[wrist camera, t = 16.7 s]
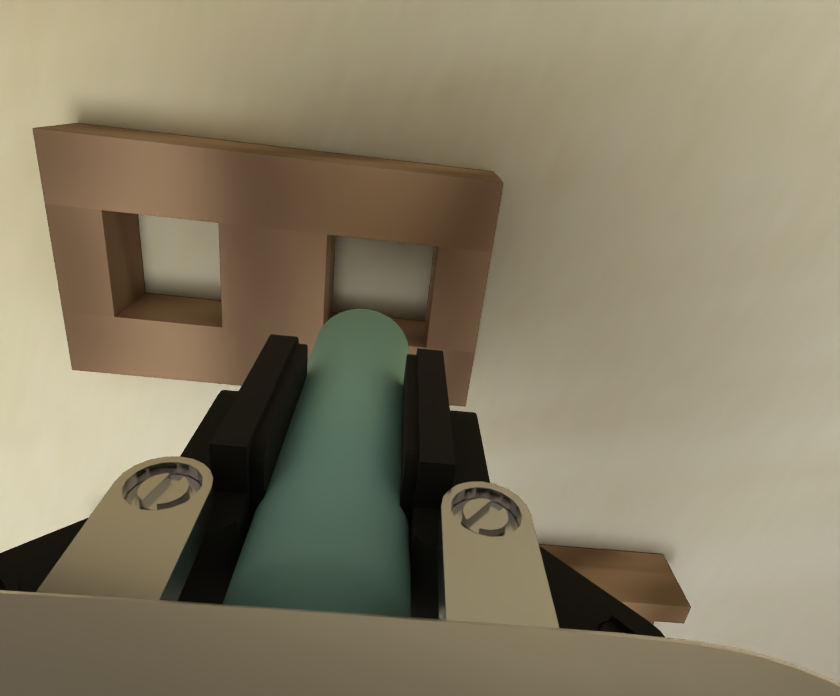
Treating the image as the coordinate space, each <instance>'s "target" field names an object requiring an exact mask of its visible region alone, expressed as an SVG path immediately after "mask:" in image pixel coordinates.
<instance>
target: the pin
mask: <svg viewBox="0 0 840 696" xmlns="http://www.w3.org/2000/svg"><path fill="white" fill-rule="evenodd" d="M407 354H409V346H408V342H407V339H406V336H405V334H404V332H403V331H402V329H401V328H400V327H399V326H398V325H397V323H396V322H394V321H393V320H392V319H391V318H389V317H388V316H386V315H384V314H382V313H380V312H377V311H374V310H369V309H352V310H347V311H344V312H341V313H339V314H337V315H335V316H333V317H332V318H331V319H329V320H328V321H327V322H326V323H325V324H324V325H323V326H322V328H321V329H320V331H319V333H318V335H317V338H316V341H315V343H314V346H313V349H312V352H311V355H310V358H309V360H308V363H307V376H306V379H305V382H304V385H303V388H302V391H301V394H300V396H299V399H298V402H297V405H296V408H295V411H294V414H293V416H292V419H291V422H290V425H289V428H288V431H287V433H286V436H285V439H284V442H283V445H282V448H281V451H280V453H279V456H278V459H277V462H276V465H275V468H274V471H273V473H272V476H271V479H270V482H269V485H268V488H267V491H266V493H265V496H264V498H263V500H262V501H261V502H260V504H259V505H258V507H257V509H256V511H255V513H254V516H253V519H252V522H251V525H250V528H249V530H248V533H247V536H246V539H245V542H244V545H243V547H242V550H241V553H240V556H239V559H238V562H237V564H236V567H235V570H234V573H233V576H232V579H231V581H230V584H229V587H228V590H227V593H226V596H225V598H224V601H223V604H228V605H242V606H257V607H272V608H287V609H302V610H316V611H331V612H345V613H360V614H374V615H388V616H402V617H411V569H410V528H409V523H408V520H407V518H406V515H405V513H404V512H403V510H402V508H401V507H400V480H401V445H402V409H403V382H404V373H405V365H406V357H407Z"/></svg>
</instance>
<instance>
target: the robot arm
mask: <svg viewBox="0 0 840 696" xmlns="http://www.w3.org/2000/svg"><path fill="white" fill-rule="evenodd" d="M307 362H308V346H307V344H299V339H298V337H296V336H285V335H275V334H271V335H270V336H269V338H268V340H267V341H266V343H265V345H264V347H263V349H262V350H261V352H260V354H259V356H258V358H257V359H256V361H255V363H254V365H253V367H252V368H251V370H250V372H249V374H248V376H247V377H246V379H245V381H244V383H243V385H242V386H241V388H240V390H239V391H229V390H222V391H221V392H220V393H219V394H218V396H217V398H216V399H215V401H214V402H213V404H212V406H211V407H210V409H209V410H208V412H207V414H206V415H205V417H204V419H203V420H202V422H201V423H200V425H199V427H198V428H197V430H196V432H195V433H194V435H193V436H192V438H191V440H190V441H189V443H188V445H187V446H186V448H185V449H184V451H183V453H182V454H181V456H180V457H161V458H156V459H151V460H148V461H145V462H143V463H140V464H137V465H135V466H133V467H132V468H130V469H128V470H127V471H125V472H124V473H123V474H122V475H121V476H120V477H119V478H118V479H117V480H116V481H115V482H114V483H113V485H112V486H111V487H110V489H109V490H108V492H107V493H106V494H105V496H104V497H103V499H102V500H101V501H100V503H99V504H98V506H97V507H96V508H95V510H94V511H93V513H92V514H91V515H90V517H89V518H87V519H84V520H82V521H79V522H77V523H74V524H72V525H69V526H67V527H64V528H62V529H59V530H57V531H54V532H52V533H49V534H47V535H44V536H42V537H39V538H37V539H34V540H32V541H29V542H27V543H24V544H22V545H19V546H17V547H15V548H12V549H10V550H7V551H5V552H2V553H0V696H840V684H839V683H837V682H835V681H833V680H831V679H829V678H826V677H823V676H821V675H818V674H816V673H813V672H811V671H808V670H806V669H803V668H800V667H798V666H795V665H793V664H790V663H788V662H785V661H782V660H778V659H775V658H771V657H767V656H764V655H760V654H757V653H753V652H750V651H746V650H742V649H738V648H733V647H727V646H722V645H716V644H711V643H706V642H700V641H692V640H683V639H673V638H665V637H664V635H663V634H662V633H661V631H659V630H658V629H657V628H656V627H655V626H654V625H652V624H651V623H650V622H649V621H648V620H646V619H645V618H644V617H642V616H641V615H639V614H638V613H636V612H635V611H633V610H632V609H630V608H629V607H628V606H626V605H625V604H623V603H622V602H620V601H619V600H617V599H616V598H615V597H613V596H612V595H610V594H609V593H607V592H606V591H604V590H603V589H602V588H600V587H599V586H597V585H596V584H594V583H593V582H591V581H590V580H589V579H587V578H586V577H584V576H583V575H581V574H580V573H578V572H577V571H576V570H574V569H573V568H571V567H570V566H568V565H567V564H565V563H564V562H562V561H561V560H560V559H558V558H557V557H555V556H554V555H552V554H551V553H549V552H548V551H547V550H545V549H544V548H542V547H541V546H539V544H538V540H537V536H536V532H535V528H534V524H533V520H532V516H531V514H530V511H529V509H528V507H527V505H526V504H525V503H524V502H523V501H522V500H521V499H520V497H519V496H517V495H516V494H514V493H513V492H511V491H510V490H508V489H506V488H504V487H501V486H499V485H496V484H492V483H490V481H489V476H488V470H487V465H486V460H485V455H484V450H483V444H482V439H481V434H480V429H479V424H478V418H477V415H476V413H473V412H462V411H451V410H450V408H449V399H448V390H447V382H446V373H445V364H444V355H443V351H441V350H430V349H420V348H417V353H416V355H413V354H407V357H406V365H405V373H404V382H403V409H402V445H401V480H400V507H401V508H402V510H403V512H404V513H405V515H406V518H407V520H408V523H409V528H410V569H411V617H402V616H388V615H374V614H360V613H345V612H331V611H316V610H302V609H287V608H272V607H257V606H242V605H228V604H223V601H224V598H225V596H226V593H227V590H228V587H229V584H230V581H231V579H232V576H233V573H234V570H235V567H236V564H237V562H238V559H239V556H240V553H241V550H242V547H243V545H244V542H245V539H246V536H247V533H248V530H249V528H250V525H251V522H252V519H253V516H254V513H255V511H256V509H257V507H258V505H259V504H260V502H261V501H262V500H263V498H264V496H265V493H266V491H267V488H268V485H269V482H270V479H271V476H272V473H273V471H274V468H275V465H276V462H277V459H278V456H279V453H280V451H281V448H282V445H283V442H284V439H285V436H286V433H287V431H288V428H289V425H290V422H291V419H292V416H293V414H294V411H295V408H296V405H297V402H298V399H299V396H300V394H301V391H302V388H303V385H304V382H305V379H306V376H307Z"/></svg>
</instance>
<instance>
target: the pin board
mask: <svg viewBox="0 0 840 696" xmlns="http://www.w3.org/2000/svg"><path fill="white" fill-rule="evenodd" d="M33 134H34V140H35V146H36V153H37V159H38V165H39V171H40V177H41V183H42V189H43V195H44V201H45V207H46V213H47V220H48V226H49V232H50V238H51V244H52V250H53V256H54V262H55V268H56V274H57V280H58V287H59V293H60V299H61V305H62V311H63V317H64V323H65V329H66V335H67V341H68V347H69V353H70V360H71V366H72V370H79V371H90V372H101V373H111V374H122V375H133V376H144V377H154V378H165V379H176V380H186V381H197V382H208V383H219V384H229V385H240V386H242V385H243V383H244V381H245V379H246V377H247V376H248V374H249V372H250V370H251V368H252V367H253V365H254V363H255V361H256V359H257V358H258V356H259V354H260V352H261V350H262V349H263V347H264V345H265V343H266V341H267V340H268V338H269V336H270V335H271V334H275V335H285V336H296V337H298V339H299V344H307V346H308V360H309V358H310V355H311V352H312V349H313V346H314V343H315V341H316V338H317V335H318V333H319V331H320V329H321V328H322V326H323V325H324V324H325V323H326V322H327V321H328V320H329V319H331V318H332V317H333V316H335V315H337V314H339V313H336V312H332V297H333V277H334V258H335V238H336V236H345V237H354V238H363V239H372V240H382V241H391V242H400V243H409V244H418V245H428V246H435V247H434V255H433V263H432V271H431V279H430V287H429V295H428V303H427V311H426V319H425V322H424V321H415V320H405V319H395V318H391V319H392V320H393V321H394V322H396V323H397V325H398V326H399V327H400V328H401V329H402V331H403V332H404V334H405V336H406V339H407V342H408V346H409V354H413V355H416V353H417V348H420V349H430V350H441V351H443V355H444V364H445V373H446V382H447V390H448V399H449V405H454V406H466V400H467V394H468V389H469V383H470V377H471V371H472V365H473V359H474V353H475V347H476V342H477V336H478V330H479V324H480V318H481V312H482V306H483V300H484V294H485V289H486V283H487V277H488V271H489V265H490V259H491V253H492V247H493V241H494V236H495V230H496V224H497V218H498V212H499V206H500V200H501V194H502V188H503V182H502V181H501V179H500V178H499V177H498V176H497V175H496V174H495V173H494V172H492V171H483V170H474V169H466V168H457V167H449V166H440V165H432V164H423V163H414V162H406V161H397V160H389V159H380V158H372V157H363V156H355V155H346V154H337V153H329V152H320V151H312V150H303V149H295V148H286V147H277V146H269V145H260V144H252V143H243V142H235V141H226V140H217V139H209V138H200V137H192V136H183V135H175V134H166V133H158V132H149V131H140V130H132V129H123V128H115V127H106V126H98V125H89V124H80V123H73V124H65V125H56V126H47V127H38V128H33ZM138 214H143V215H152V216H161V217H170V218H179V219H189V220H198V221H207V222H216V223H219V248H220V275H221V301H217V300H207V299H198V298H188V297H178V296H168V295H158V294H148V293H145V286H144V276H143V266H142V255H141V245H140V235H139V225H138ZM307 363H308V362H307Z"/></svg>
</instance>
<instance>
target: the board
mask: <svg viewBox="0 0 840 696" xmlns="http://www.w3.org/2000/svg"><path fill="white" fill-rule="evenodd" d="M539 546H541V547H542V548H544V549H545V550H547V551H548V552H549V553H551V554H552V555H554V556H555V557H557V558H558V559H560V560H561V561H562V562H564V563H565V564H567V565H568V566H570V567H571V568H573V569H574V570H576V571H577V572H578V573H580V574H581V575H583V576H584V577H586V578H587V579H589V580H590V581H591V582H593V583H594V584H596V585H597V586H599V587H600V588H602V589H603V590H604V591H606V592H607V593H609V594H610V595H612V596H613V597H615V598H616V599H617V600H619V601H620V602H622V603H623V604H625V605H626V606H628V607H629V608H630V609H632V610H633V611H635V612H636V613H638V614H639V615H641V616H642V617H644V618H645V619H646V620H648V621H649V622H650V623H651V624H652V625H653V624H654V621H659V622H672V623H684V622H685V620H686V617H687V615H688V613H689V611H690V608H691V606H690V604H689V602H688V600H687V599H686V597H685V595H684V593H683V591H682V589H681V587H680V585H679V583H678V582H677V580H676V578H675V576H674V574H673V572H672V570H671V568H670V566H669V564H668V563H667V561H666V559H665V557H664V555H663V554H650V553H638V552H625V551H613V550H601V549H588V548H576V547H563V546H551V545H539Z"/></svg>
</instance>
